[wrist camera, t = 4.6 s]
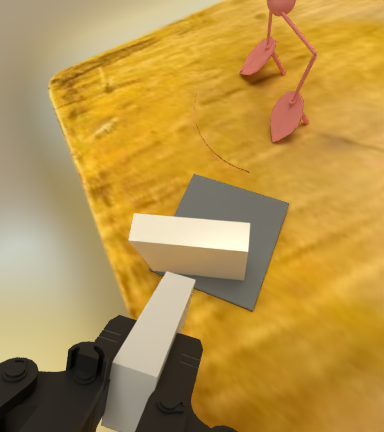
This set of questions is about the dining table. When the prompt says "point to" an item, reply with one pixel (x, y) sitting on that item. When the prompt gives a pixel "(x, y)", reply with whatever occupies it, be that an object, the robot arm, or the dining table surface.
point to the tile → (192, 245)
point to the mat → (236, 212)
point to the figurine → (291, 101)
